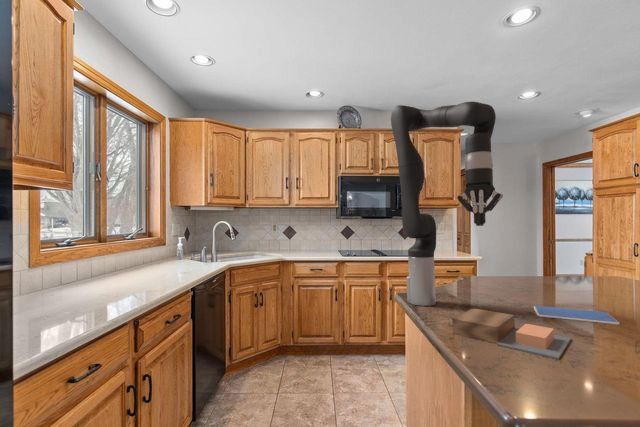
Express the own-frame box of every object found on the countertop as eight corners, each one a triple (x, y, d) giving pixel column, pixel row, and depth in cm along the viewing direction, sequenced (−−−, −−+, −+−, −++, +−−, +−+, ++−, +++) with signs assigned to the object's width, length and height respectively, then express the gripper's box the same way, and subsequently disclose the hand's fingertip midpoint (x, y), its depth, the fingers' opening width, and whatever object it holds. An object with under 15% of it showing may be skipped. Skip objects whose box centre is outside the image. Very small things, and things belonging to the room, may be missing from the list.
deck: (453, 333, 85) (452, 318, 85) (472, 321, 95) (472, 308, 95) (498, 344, 77) (497, 327, 77) (514, 329, 87) (514, 315, 87)
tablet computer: (606, 315, 100) (606, 311, 100) (621, 327, 89) (621, 322, 89) (533, 309, 109) (533, 305, 110) (538, 318, 98) (538, 314, 98)
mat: (496, 345, 77) (496, 343, 77) (515, 329, 88) (515, 327, 88) (558, 359, 68) (558, 357, 68) (570, 339, 79) (570, 337, 79)
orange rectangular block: (545, 338, 73) (546, 349, 73) (553, 328, 79) (554, 338, 79) (515, 332, 77) (516, 342, 77) (525, 323, 83) (526, 333, 83)
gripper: (451, 170, 99) (452, 225, 99) (498, 164, 90) (499, 226, 89) (461, 172, 104) (462, 225, 104) (506, 167, 95) (508, 225, 94)
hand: (479, 225), depth 96 cm, fingers closed
